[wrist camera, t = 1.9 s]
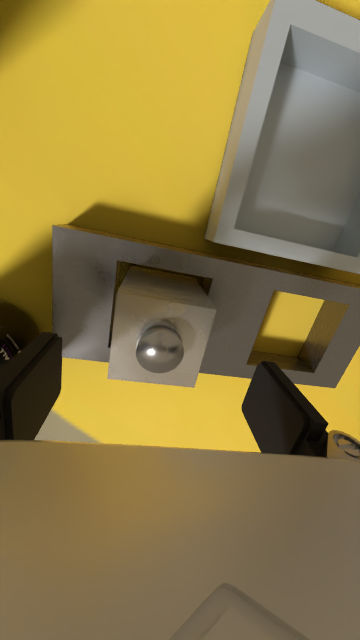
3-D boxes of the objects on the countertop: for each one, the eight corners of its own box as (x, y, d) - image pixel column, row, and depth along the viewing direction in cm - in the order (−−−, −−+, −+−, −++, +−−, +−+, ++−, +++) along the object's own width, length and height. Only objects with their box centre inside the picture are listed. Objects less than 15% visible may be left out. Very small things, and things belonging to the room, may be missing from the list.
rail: (64, 339, 19) (52, 356, 17) (67, 224, 16) (52, 225, 13) (317, 371, 23) (334, 388, 21) (362, 285, 20) (388, 294, 18)
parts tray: (252, 33, 13) (278, -16, 10) (410, 96, 15) (468, 69, 12) (204, 238, 17) (213, 242, 14) (332, 266, 19) (362, 274, 16)
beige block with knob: (130, 265, 17) (114, 298, 10) (194, 277, 18) (220, 315, 11) (122, 325, 19) (104, 388, 12) (181, 333, 20) (196, 397, 13)
